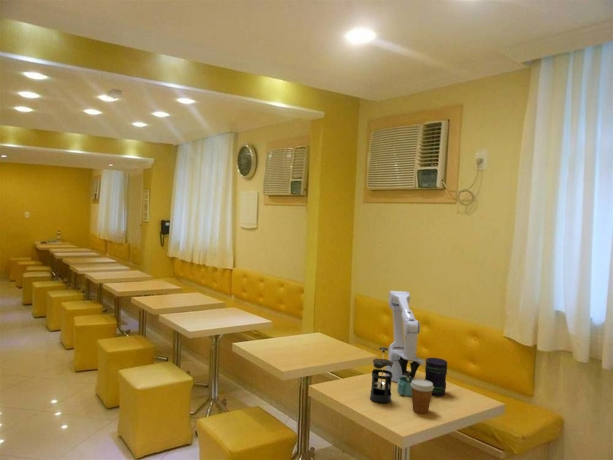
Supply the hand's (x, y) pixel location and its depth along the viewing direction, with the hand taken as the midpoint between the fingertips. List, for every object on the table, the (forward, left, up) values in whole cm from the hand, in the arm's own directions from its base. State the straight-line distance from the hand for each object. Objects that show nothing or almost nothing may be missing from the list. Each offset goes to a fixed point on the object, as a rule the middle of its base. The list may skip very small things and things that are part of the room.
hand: (408, 376), depth 212 cm
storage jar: (+8, +11, -8) cm, 16 cm away
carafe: (0, 0, -8) cm, 8 cm away
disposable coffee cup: (+15, -13, -8) cm, 21 cm away
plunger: (0, 0, -7) cm, 7 cm away
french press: (-3, -17, -8) cm, 19 cm away
